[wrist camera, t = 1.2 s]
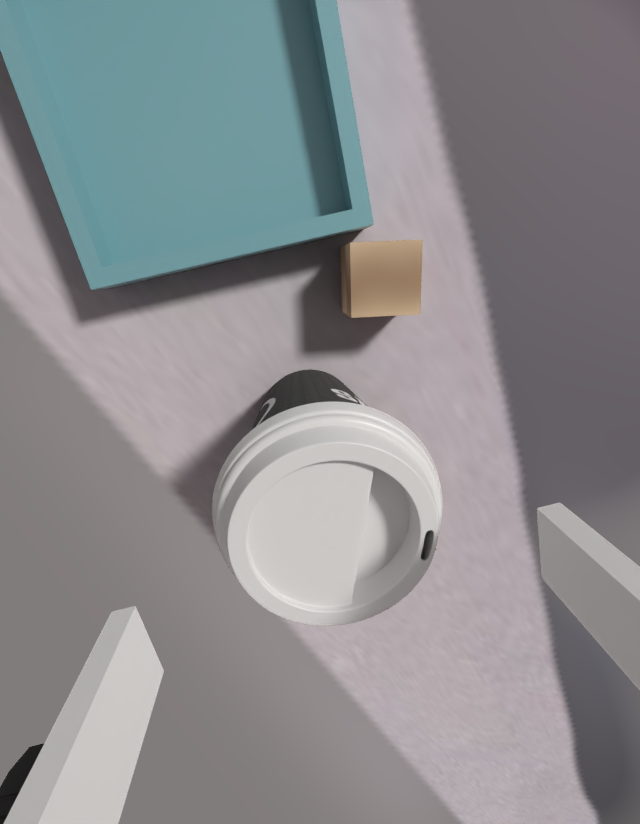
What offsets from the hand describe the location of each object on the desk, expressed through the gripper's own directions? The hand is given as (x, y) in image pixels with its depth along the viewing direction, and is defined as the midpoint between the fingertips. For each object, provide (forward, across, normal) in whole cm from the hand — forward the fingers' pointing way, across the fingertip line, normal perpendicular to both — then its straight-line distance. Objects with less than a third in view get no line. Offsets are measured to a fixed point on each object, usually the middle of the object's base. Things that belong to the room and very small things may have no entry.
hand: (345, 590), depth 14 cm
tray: (+17, -2, +20) cm, 26 cm away
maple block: (+17, +6, +8) cm, 20 cm away
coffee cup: (+18, 0, 0) cm, 18 cm away
